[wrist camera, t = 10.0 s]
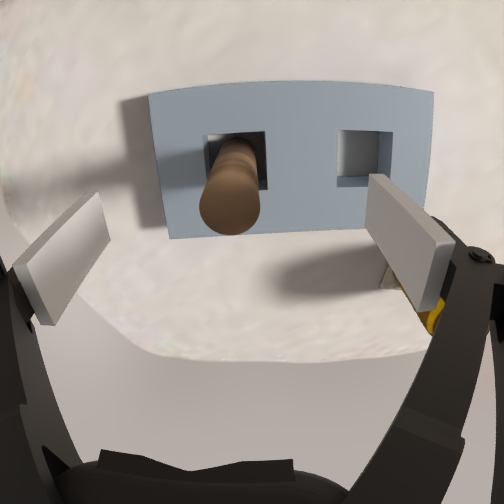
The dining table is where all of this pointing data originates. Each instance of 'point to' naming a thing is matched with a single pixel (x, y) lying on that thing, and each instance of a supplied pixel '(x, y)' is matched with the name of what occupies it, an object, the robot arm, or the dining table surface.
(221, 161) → the peg
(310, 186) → the hole block
